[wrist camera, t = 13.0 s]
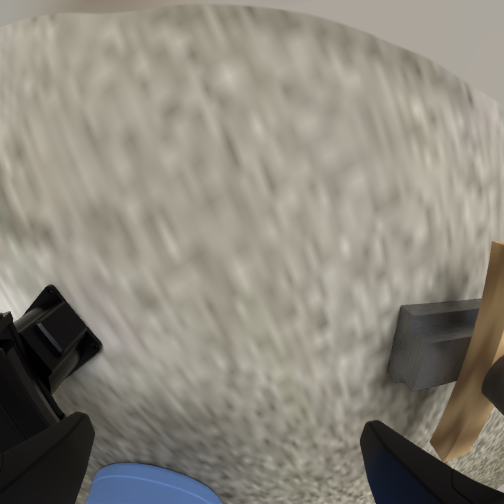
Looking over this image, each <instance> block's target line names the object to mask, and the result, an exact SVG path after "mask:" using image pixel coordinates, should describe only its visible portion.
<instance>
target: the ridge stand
mask: <svg viewBox="0 0 504 504" xmlns="http://www.w3.org/2000/svg"><path fill="white" fill-rule="evenodd" d="M481 300H482V299H473V300H463V301H452V302H441V303H429V304H415V305H401V310H400V315H399V320H398V325H397V330H396V334H395V339H394V343H393V348H392V352H391V356H390V360H389V364H388V368H387V372H388V373H389V374H390V376H391V377H392V378H393V380H394V381H395V383H402V382H406V383H407V384H408V386H409V387H410V388H411V390H412V391H416V390H421V389H425V388H430V387H434V386H438V385H443V384H447V383H450V382H454V381H457V379H458V377H459V374H460V371H461V368H462V366H463V363H464V360H465V357H466V354H467V351H468V348H469V344H470V341H471V338H472V335H473V331H474V328H475V324H476V320H477V316H478V313H479V309H480V304H481Z"/></svg>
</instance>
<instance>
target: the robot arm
mask: <svg viewBox="0 0 504 504" xmlns="http://www.w3.org/2000/svg"><path fill="white" fill-rule="evenodd" d="M50 290H51V291H52V293H51V292H50ZM94 344H96V345H97V347H96V346H95V345H94ZM101 348H102V343H101V342H100V341H99V339H98V338H97V337H96V336H95V335H94V334H93V333H92V332H91V330H90V329H89V328H88V327H87V326H86V325H85V324H84V322H83V321H82V320H81V319H80V318H79V316H78V315H77V314H76V313H75V312H74V310H73V309H72V308H71V307H70V305H69V304H68V303H67V302H66V300H65V299H64V298H63V297H62V295H61V294H60V293H59V291H58V290H57V289H56V287H55V286H54V285H52V284H51V285H48V286H47V287H45V289H44V290H43V291H42V292H41V293H40V295H39V296H38V297H37V298H36V300H35V301H34V302H33V303H32V305H31V306H30V307H29V308H28V310H27V311H26V312H25V314H24V315H23V316H22V317H21V318H20V319H18V320H17V321H15V322H13V317H12V314H11V312H10V311H9V312H6V313H0V504H75V502H76V499H77V496H78V493H79V490H80V487H81V484H82V482H83V479H84V476H85V473H86V470H87V466H88V461H89V457H90V453H91V449H92V445H93V441H94V437H95V432H94V428H93V426H92V423H91V421H90V418H89V416H88V415H87V414H85V413H81V412H75V413H73V414H71V415H70V416H68V417H66V415H65V414H64V413H62V411H61V410H60V408H59V407H58V405H57V403H56V402H55V400H54V399H53V397H52V394H53V393H54V392H55V391H56V389H57V388H58V387H59V385H60V384H61V383H62V382H63V380H64V379H66V378H67V377H68V376H70V375H71V374H72V373H73V372H74V371H76V370H77V369H78V368H79V367H80V366H82V365H83V364H84V363H85V362H86V361H88V360H89V359H90V358H91V357H93V356H94V355H95V354H96V353H97V352H99V351H100V349H101ZM360 446H361V451H362V455H363V460H364V465H365V469H366V474H367V479H368V482H369V485H370V488H371V491H372V494H373V497H374V500H375V503H376V504H504V493H503V492H500V491H498V490H495V489H493V488H491V487H488V486H486V485H483V484H481V483H479V482H477V481H475V480H473V479H471V478H469V477H467V476H465V475H463V474H462V473H460V472H458V471H457V470H455V469H452V468H451V467H450V466H448V465H447V464H445V463H443V462H442V461H440V460H438V459H437V458H435V457H434V456H432V455H431V454H429V453H427V452H426V451H424V450H423V449H421V448H420V447H418V446H417V445H415V444H413V443H412V442H410V441H409V440H407V439H406V438H404V437H403V436H401V435H400V434H398V433H397V432H395V431H394V430H392V429H391V428H389V427H388V426H386V425H385V424H384V423H382V422H381V421H379V420H374V421H368V422H366V424H365V426H364V429H363V432H362V435H361V438H360Z"/></svg>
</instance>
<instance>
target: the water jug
mask: <svg viewBox="0 0 504 504" xmlns="http://www.w3.org/2000/svg"><path fill="white" fill-rule="evenodd" d="M85 504H222V502H221V500H220V498H219V497H218V496H217V495H216V494H215V493H214V492H213V491H212V490H211V489H210V488H208V487H207V486H205V485H204V484H202V483H200V482H198V481H196V480H194V479H192V478H190V477H188V476H185V475H183V474H180V473H178V472H175V471H172V470H168V469H165V468H161V467H157V466H152V465H146V464H139V463H116V464H111V465H108V466H105V467H103V468H102V469H100V470H99V471H98V472H97V473H96V475H95V477H94V480H93V482H92V485H91V491H90V493H89V495H88V498H87V500H86V503H85Z"/></svg>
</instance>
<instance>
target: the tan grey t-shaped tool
mask: <svg viewBox="0 0 504 504" xmlns="http://www.w3.org/2000/svg"><path fill="white" fill-rule="evenodd" d="M494 406H495V407H496V408H497V409H498V410H499V411H500V412H501V413H502V414H503V415H504V242H497V241H492V245H491V252H490V259H489V265H488V271H487V276H486V281H485V286H484V291H483V296H482V300H481V304H480V309H479V313H478V316H477V320H476V324H475V328H474V331H473V335H472V338H471V341H470V344H469V348H468V351H467V354H466V357H465V360H464V363H463V366H462V368H461V371H460V374H459V377H458V379H457V382H456V384H455V387H454V389H453V392H452V394H451V397H450V399H449V402H448V404H447V406H446V408H445V411H444V413H443V415H442V417H441V419H440V422H439V424H438V426H437V428H436V430H435V432H434V434H433V436H432V438H431V440H430V443H431V445H432V446H433V448H434V449H435V451H436V452H437V454H438V455H439V457H440V459H441V460H442V462H443V463H444V462H447V461H449V460H452V459H454V458H457V457H459V456H462V455H464V454H466V453H468V452H469V450H470V449H471V447H472V446H473V444H474V442H475V441H476V439H477V437H478V435H479V434H480V432H481V430H482V428H483V427H484V425H485V423H486V421H487V419H488V417H489V415H490V413H491V411H492V410H493V408H494Z"/></svg>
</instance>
